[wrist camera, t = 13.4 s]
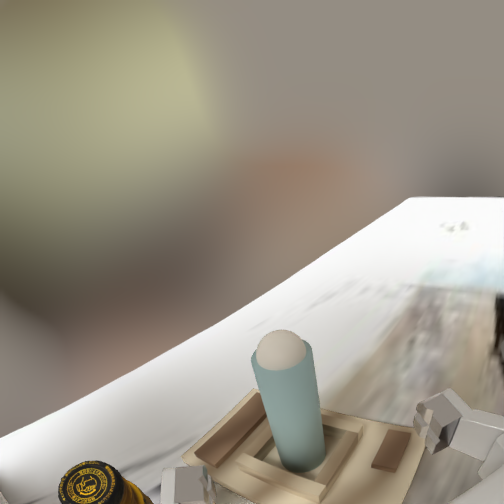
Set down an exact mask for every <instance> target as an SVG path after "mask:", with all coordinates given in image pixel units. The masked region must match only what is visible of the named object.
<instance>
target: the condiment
mask: <svg viewBox="0 0 504 504" xmlns="http://www.w3.org/2000/svg"><path fill="white" fill-rule="evenodd" d="M58 492H59V495H58V497H59V499H60V501H61V504H154V503H153V502H152V501H151V500H150V498H149V497H148V496H146V495H145V494H144V493H143V492H142V491H141V490H140V489H139V488H138V487H137V486H136V485H135V484H133V483H131V482H130V481H128V480H126V479H125V478H124V477H122V476H121V474H120V473H119V472H118V470H116V469H115V468H114V467H112V466H111V465H109V464H107V463H104V462H101V461H85V462H83V463H80V464H78V465H76V466H74V467H73V468H71V469H70V470H68V472H67V473H66V474H65V475H64V477H62V478H61V482H60V484H59V491H58Z"/></svg>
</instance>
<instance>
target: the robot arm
mask: <svg viewBox="0 0 504 504" xmlns="http://www.w3.org/2000/svg"><path fill="white" fill-rule="evenodd" d="M416 410H417V411H418V413H417V414H416V415H415V417H414V421H413V424H414V429H415V431H416V433H417V434H418V436H419V437H421V438H424V439H425V443H424V444H425V446H426V447H427V448H428V450H429V451H430V452H431V454H432V455H433V454H435V453H436V452H438V451H440V450H442V449H444V448H446V447H448V446H449V447H451V448H453V449H455V450H457V451H460V452H462V453H464V454H467V455H469V456H471V457H474V458H476V459H478V460H481V461H483V463H482V465H481V467H480V468H479V470H478V475H479V476H480V477H481V479H482V481H481V482H479V483H478V484H476V485H475V486H473V487H472V488H470V489H469V490H467V491H466V492H464V493H463V494H461V495H460V496H458V497H456V498H455V499H453V500H451V501H450V502H448V503H446V504H504V416H502V415H498V414H494V413H490V412H486V411H482V410H478V409H474V410H472V409H471V408H470V407H469V406H468V405H467V404H466V403H465V402H464V401H463V400H462V399H461V398H460V396H459V395H458V394H457V393H456V392H455V391H454V390H453V389H451V388H448V389H446V390H444V391H442V392H440V393H437V394H436V395H434V396H432V397H430V398H428V399H426V400H424V401H422V402H420V403H418V405H417V407H416ZM215 498H216V490H215V485H214V482H213V479H212V477H211V476H210V475H208V473H207V468H206V467H205V465H200V466H190V467H178V468H177V467H176V468H164V469H163V471H162V479H161V495H160V504H215V502H214V499H215ZM0 504H9V503H8V502H7V501H6V499H5V498H4V496H3V494H2V493H1V491H0Z"/></svg>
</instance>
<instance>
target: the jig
mask: <svg viewBox="0 0 504 504" xmlns="http://www.w3.org/2000/svg"><path fill="white" fill-rule="evenodd" d="M320 410H321V418H322V426H323V434H324V442H325V451H326V456H325V459H324V461H323V462H322V464H321V465H320V466H318V467H317V468H316V469H314V470H312V471H309V472H304V473H296V472H292V471H289V470H287V469H286V468H285V467H284V466H283V465H282V463H281V460H280V457H279V454H278V451H277V447H276V444H275V441H274V438H273V434H272V431H271V428H270V424H269V421H268V418H267V414H266V411H265V408H264V404H263V401H262V397H261V394H260V391H259V390H257V389H254V388H253V389H252V390H251V391H250V392H249V393H248V394H247V395H246V396H245V397H244V398H243V399H242V400H241V401H240V402H239V403H238V404H237V405H236V406H235V407H234V408H233V409H232V410H231V411H230V412H229V413H228V414H227V415H226V416H225V417H224V418H223V419H222V420H221V421H219V422H218V423H217V424H216V425H215V426H214V427H213V428H212V429H211V430H210V431H209V432H208V433H207V434H205V435H204V436H203V437H202V438H201V439H200V440H199V441H198V442H197V443H195V444H194V445H193V446H192V447H191V448H190V449H189V450H188V451H186V452H185V453H184V454H183V455H182V456H181V458H182V459H183V461H184V462H185V463H186V464H188V465H189V466H200V465H205V467H206V468H207V473H208V475H210V476H211V477H212V479H213V481H215V482H217V483H219V484H220V485H222V486H224V487H226V488H227V489H229V490H231V491H233V492H235V493H236V494H238V495H240V496H242V497H244V498H246V499H248V500H250V501H252V502H254V503H256V504H402V503H403V500H404V498H405V496H406V494H407V492H408V489H409V487H410V485H411V482H412V480H413V478H414V475H415V473H416V470H417V468H418V465H419V463H420V460H421V457H422V455H423V452H424V449H425V444H424V443H425V439H424V438H421V437H419V436H418V434H417V433H416V431H415V429H414V428H410V427H404V426H398V425H392V424H387V423H382V422H377V421H372V420H367V419H362V418H358V417H353V416H349V415H345V414H341V413H336V412H332V411H328V410H325V409H321V408H320Z"/></svg>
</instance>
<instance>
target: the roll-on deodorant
mask: <svg viewBox="0 0 504 504" xmlns="http://www.w3.org/2000/svg"><path fill="white" fill-rule="evenodd" d="M251 363H252V366H253V370H254V373H255V377H256V380H257V384H258V387H259V391H260V394H261V397H262V401H263V404H264V408H265V411H266V414H267V418H268V421H269V424H270V428H271V431H272V434H273V438H274V441H275V444H276V447H277V451H278V454H279V457H280V460H281V463H282V465H283V466H284V467H285V468H286V469H287V470H289V471H292V472H296V473H304V472H309V471H312V470H314V469H316V468H317V467H318V466H320V465H321V464H322V462H323V461H324V459H325V456H326V451H325V442H324V434H323V426H322V418H321V410H320V403H319V395H318V388H317V381H316V374H315V367H314V361H313V354H312V348H311V346H310V344H309V343H308V342H306V341H304V340H302V339H301V338H300V337H299V336H298V335H296V334H295V333H293V332H291V331H287V330H276V331H273V332H270V333H269V334H267V335H266V336H264V337H263V338H262V340H261V341H260V343H259V344H258V347H257V349H256V350H255V352H254V353H253V355H252V358H251Z"/></svg>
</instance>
